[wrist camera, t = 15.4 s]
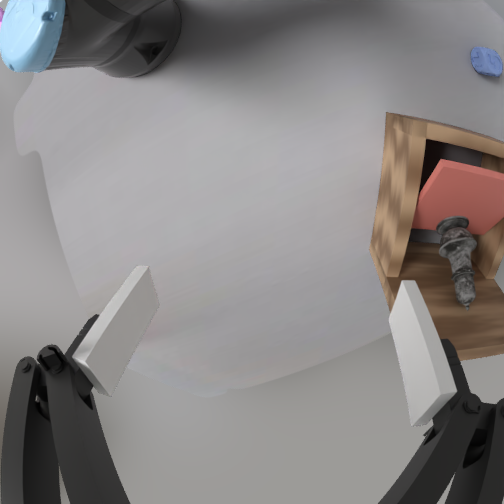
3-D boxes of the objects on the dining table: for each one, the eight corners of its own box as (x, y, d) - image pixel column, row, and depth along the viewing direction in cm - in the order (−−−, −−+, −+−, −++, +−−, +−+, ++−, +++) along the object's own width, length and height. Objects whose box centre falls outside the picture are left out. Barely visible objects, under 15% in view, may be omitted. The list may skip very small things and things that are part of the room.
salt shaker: (462, 236, 33) (475, 315, 28) (429, 236, 35) (440, 318, 30) (476, 214, 28) (496, 301, 23) (441, 213, 30) (458, 305, 25)
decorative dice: (468, 47, 23) (482, 46, 19) (487, 53, 22) (501, 52, 19) (472, 71, 25) (486, 71, 21) (490, 76, 24) (504, 77, 21)
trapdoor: (440, 158, 22) (443, 166, 22) (530, 182, 20) (533, 189, 20) (400, 220, 35) (401, 227, 35) (481, 229, 33) (483, 235, 32)
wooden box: (386, 112, 32) (480, 145, 13) (492, 137, 29) (593, 192, 10) (369, 249, 44) (404, 366, 24) (465, 255, 41) (523, 349, 21)
